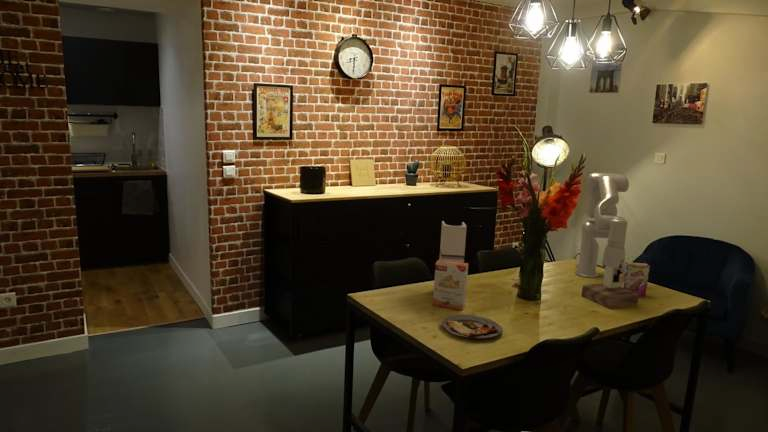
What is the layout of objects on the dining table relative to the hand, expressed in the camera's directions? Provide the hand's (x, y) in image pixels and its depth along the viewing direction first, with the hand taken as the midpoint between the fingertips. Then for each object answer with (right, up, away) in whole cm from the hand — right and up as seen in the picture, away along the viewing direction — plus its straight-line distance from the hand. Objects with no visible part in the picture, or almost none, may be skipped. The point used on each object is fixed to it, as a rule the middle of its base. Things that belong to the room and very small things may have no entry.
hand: (611, 280), depth 262 cm
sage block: (0, -3, +1) cm, 3 cm away
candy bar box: (+17, -9, +13) cm, 23 cm away
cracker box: (-82, -10, -17) cm, 84 cm away
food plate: (-76, -16, -43) cm, 89 cm away
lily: (-40, -5, +19) cm, 45 cm away
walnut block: (0, -11, +2) cm, 11 cm away
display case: (-79, -7, 0) cm, 80 cm away
